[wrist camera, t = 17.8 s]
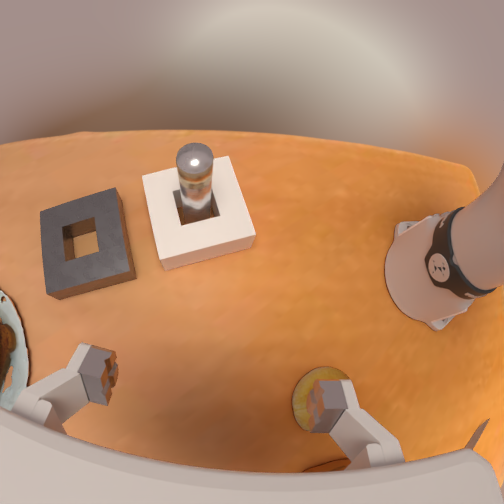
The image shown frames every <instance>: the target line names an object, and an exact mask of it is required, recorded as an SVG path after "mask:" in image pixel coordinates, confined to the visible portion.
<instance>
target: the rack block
mask: <svg viewBox="0 0 504 504" xmlns="http://www.w3.org/2000/svg"><path fill="white" fill-rule="evenodd" d="M142 178H143V184H144V189H145V194H146V199H147V204H148V209H149V214H150V219H151V224H152V228H153V233H154V237H155V242H156V246H157V250H158V255H159V259H160V261H161V264H162V266H163V268H164V270H165V271H167V270H170V269H174V268H178V267H181V266H185V265H189V264H193V263H196V262H200V261H204V260H207V259H211V258H215V257H218V256H222V255H226V254H230V253H233V252H237V251H241V250H245V249H248V248H251V246H252V243H253V241H254V238H255V236H256V233H255V230H254V227H253V224H252V221H251V218H250V215H249V213H248V210H247V207H246V204H245V201H244V198H243V196H242V193H241V190H240V187H239V184H238V181H237V179H236V176H235V173H234V170H233V167H232V164H231V162H230V159H229V156H225V157H220V158H215V159H213V175H212V186H211V207H212V210H213V214H214V218H210V219H206V220H202V221H198V222H194V223H190V224H186V225H182V226H181V223H180V219H179V215H178V211H177V208H179V207H182V200H181V192H180V184H179V179H178V172H177V167H175V168H171V169H167V170H163V171H159V172H155V173H151V174H147V175H143V176H142Z"/></svg>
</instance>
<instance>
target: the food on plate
mask: <svg viewBox="0 0 504 504" xmlns="http://www.w3.org/2000/svg"><path fill="white" fill-rule="evenodd" d="M2 296H4V297H5V298H6V301H3V303H2V302H1V297H2ZM0 318H1V319H2V323H3V324H0V406H1V407H3V408H5V409H7V410H9V411H11V409H12V408H13V406H14V404H15V402H16V400H17V398H18V397H19V395H20V393H21V391H22V390H23V389H25V388H27V386H26V384H27V379H28V376H29V373H30V372H29V371H28V369H29V361H28V348H26V345H25V338H24V333H23V330H24V329H23V328H22V326H21V318H20V316H19V315H18V314H17V309H16V308H15V306H14V303H13V302H12V300H11V299H10V297H9V296H7V295H5V294H4V293H3V291H1V290H0ZM10 366H13V372H12V376H11V377H12V385H11V386H10V387H8V388H7V389H6V390H5V391H4V393H2V391H3V388H4V382H5V377H6V374H7V373H8V370H9V367H10Z"/></svg>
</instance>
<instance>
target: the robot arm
mask: <svg viewBox="0 0 504 504" xmlns="http://www.w3.org/2000/svg"><path fill="white" fill-rule="evenodd" d="M407 228H408V229H407ZM385 278H386V283H387V287H388V290H389V292H390V295H391V297H392V299H393V301H394V302H395V304H396V305H397V306H398V308H399V309H400V310H401V311H402V312H403V313H405V314H406V315H407V316H409V317H411V318H413V319H415V320H419V321H422V322H425V323H426V324H427V325H428V326H429V327H430V328H432V329H433V330H435V331H439V330H441V329H443V328H444V327H445V326H446V325H447V324H448V323H449V322H450V321H451V320H452V319H453V318H454V317H455V316H456V315H458V314H461V313H464V312H466V311H467V308H468V307H469V306H470V305H471V304H472V303H473V301H474V300H475V298H480V297H483V296H485V295H487V294H488V293H491V292H492V291H494V290H495V289H496V288H497V287H498V286H501V285H504V163H503V166H502V169H501V171H500V173H499V175H498V177H497V178H496V180H495V181H494V182H493V184H492V185H491V186H490V187H489V188H488V189H487V190H486V191H485V192H484V193H482V194H481V195H480V196H479V197H478V198H477V199H475V200H474V201H473V202H471V203H470V204H469V205H467V206H466V207H460V208H458V209H456V210H454V211H452V212H445V213H443V214H441V215H440V216H439V214H434V215H432V216H428V217H426V218H424V219H423V220H421V221H409V222H400V223H398V224H397V225H396V227H395V235H394V241H393V244H392V245H391V247H390V249H389V251H388V254H387V257H386V262H385ZM116 358H117V357H116V352H115V351H112V350H109V349H105V348H101V347H98V346H94V345H90V344H86V343H83V342H82V343H80V344H79V346H78V347H77V349H76V351H75V353H74V354H73V356H72V358H71V360H70V362H69V364H68V365H67V367H66V369H64V368H62V369H60V370H58V371H56V372H55V373H53V374H51V375H49V376H47V377H45V378H44V379H42V380H40V381H38V382H36V383H34V384H33V385H31V386H29V387H27V388H25V389H23V390H22V391H21V393H20V395H19V397H18V398H17V400H16V402H15V404H14V406H13V408H12V409H11V411H9V410H7V409H5V408H3V407H1V406H0V504H504V501H503V497H502V494H501V490H500V487H499V484H498V481H497V478H496V475H495V472H494V470H493V468H492V466H491V464H490V463H489V462H488V461H487V460H486V459H484V458H483V457H482V456H480V455H479V454H478V453H476V452H475V451H473V450H472V449H469V448H464V449H460V450H456V451H453V452H449V453H445V454H441V455H437V456H433V457H428V458H424V459H419V460H414V461H409V462H405V460H404V456H403V453H402V450H401V447H400V444H399V441H398V439H396V438H395V437H394V436H393V435H392V434H391V433H390V432H388V431H387V430H386V429H385V428H384V427H383V426H382V425H381V424H379V423H378V422H377V421H376V420H375V419H374V418H373V417H372V416H371V415H369V414H368V413H367V412H366V411H365V410H364V409H360V406H359V403H358V400H357V397H356V393H355V390H354V387H353V384H352V381H351V380H342V379H339V380H338V379H316V380H315V381H314V383H313V389H312V390H310V391H309V393H308V396H307V401H306V408H307V412H308V413H309V414H310V415H311V416H310V418H309V420H308V422H309V428H310V433H329V435H330V436H331V437H332V438H333V440H334V441H335V442H336V443H337V445H338V446H339V447H340V448H341V450H342V451H343V452H344V453H345V454H346V456H347V457H348V458H349V459H350V460H351V463H350V464H349V466H348V467H347V468H346V469H345V470H344V471H330V472H309V473H268V472H247V471H233V470H222V469H213V468H204V467H197V466H190V465H183V464H177V463H171V462H166V461H160V460H155V459H151V458H146V457H141V456H137V455H133V454H129V453H125V452H121V451H117V450H113V449H110V448H106V447H103V446H99V445H96V444H93V443H89V442H86V441H83V440H80V439H77V438H74V437H71V436H69V435H67V433H66V431H65V430H64V428H63V426H62V423H64V422H65V421H66V420H67V419H69V418H70V417H71V416H72V415H74V414H75V413H76V412H78V411H79V410H80V409H81V408H83V407H84V406H85V405H86V404H88V403H89V401H90V402H94V403H98V404H102V405H106V406H108V404H109V401H110V398H111V396H112V391H111V388H112V387H114V386H115V385H116V382H117V379H118V364H117V363H116V362H115V360H116Z"/></svg>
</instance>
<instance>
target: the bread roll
mask: <svg viewBox="0 0 504 504" xmlns="http://www.w3.org/2000/svg"><path fill="white" fill-rule="evenodd" d="M316 379H338V380H339V379H342V380H350V379H349V377H348V376H347V375H346V374H345V373H343V372H342V371H340V370H338V369H335V368H331V367H320V368H316V369H314V370H312V371H311V372H309V373H308V374H306V375H305V376H304V377H303V378H302V379H301V380H300V381H299V383H298V384H297V386H296V387H295V390H294V393H293V397H292V406H293V410H294V416H295V419H296V421H297V422H298V424H299V425H300V426H301V428H303V429H304V430H307V431H310V428H309V422H308V420H309V418H310V416H311V415H310V414H309V413H308V412H307V408H306V401H307V396H308V393H309V391H310V390H312V389H313V383H314V381H315V380H316Z"/></svg>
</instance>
